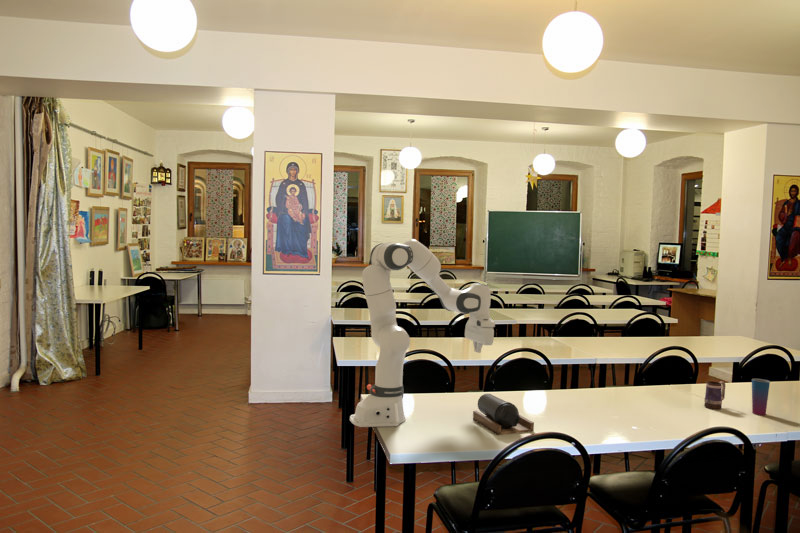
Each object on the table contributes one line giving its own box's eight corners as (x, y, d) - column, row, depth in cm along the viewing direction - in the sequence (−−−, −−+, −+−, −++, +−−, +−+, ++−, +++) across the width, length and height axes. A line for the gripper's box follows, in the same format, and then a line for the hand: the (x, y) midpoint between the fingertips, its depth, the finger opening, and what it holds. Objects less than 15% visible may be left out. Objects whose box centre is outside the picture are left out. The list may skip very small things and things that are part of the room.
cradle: (497, 435, 216) (497, 426, 216) (472, 419, 235) (473, 411, 235) (533, 431, 222) (533, 422, 222) (507, 416, 241) (507, 408, 241)
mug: (713, 410, 258) (714, 384, 258) (700, 406, 265) (701, 380, 264) (730, 408, 262) (731, 382, 261) (717, 404, 268) (718, 379, 268)
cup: (766, 412, 256) (768, 379, 256) (769, 416, 250) (771, 383, 250) (749, 410, 259) (750, 378, 259) (751, 414, 253) (752, 381, 252)
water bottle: (491, 419, 241) (515, 435, 218) (471, 409, 239) (493, 424, 216) (502, 398, 242) (527, 411, 220) (482, 387, 240) (505, 400, 217)
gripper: (462, 317, 257) (460, 347, 258) (483, 323, 238) (481, 356, 238) (474, 317, 259) (473, 347, 260) (497, 323, 240) (495, 356, 240)
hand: (477, 352), depth 249 cm, fingers closed
